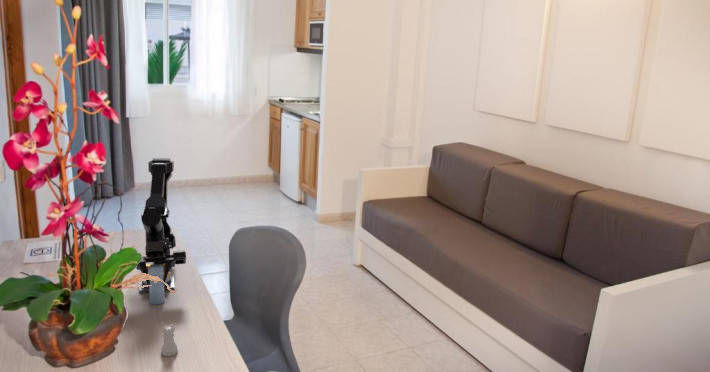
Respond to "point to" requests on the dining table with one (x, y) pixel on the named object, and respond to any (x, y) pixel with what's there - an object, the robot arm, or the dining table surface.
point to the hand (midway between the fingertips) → (156, 284)
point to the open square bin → (169, 281)
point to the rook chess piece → (169, 342)
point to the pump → (156, 285)
